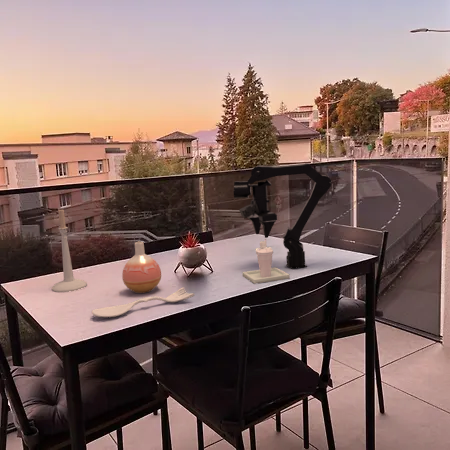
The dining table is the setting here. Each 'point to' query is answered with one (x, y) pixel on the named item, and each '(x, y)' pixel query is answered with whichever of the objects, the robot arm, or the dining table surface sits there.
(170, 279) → the dining table surface
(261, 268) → the smoothie
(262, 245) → the teacup and saucer
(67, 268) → the candlestick
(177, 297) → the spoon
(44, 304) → the dining table surface
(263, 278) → the tray
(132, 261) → the vase
